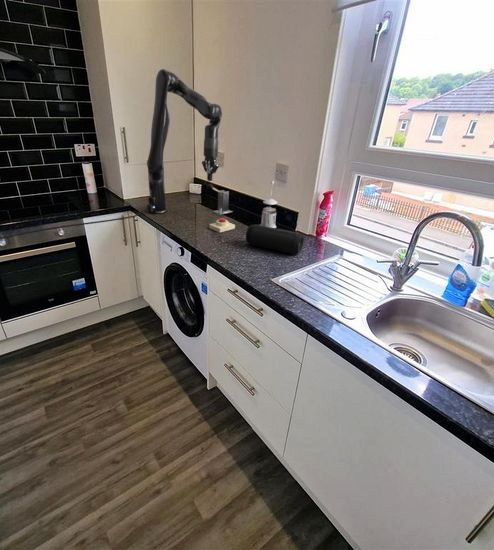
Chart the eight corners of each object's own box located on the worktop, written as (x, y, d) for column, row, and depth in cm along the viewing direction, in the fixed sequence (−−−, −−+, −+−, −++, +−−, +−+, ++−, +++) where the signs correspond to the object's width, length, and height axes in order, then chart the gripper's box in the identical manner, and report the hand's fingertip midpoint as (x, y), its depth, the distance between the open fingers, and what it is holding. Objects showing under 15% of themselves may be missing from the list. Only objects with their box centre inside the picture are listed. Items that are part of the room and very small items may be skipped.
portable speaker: (302, 251, 144) (305, 231, 139) (296, 258, 136) (299, 237, 132) (252, 240, 155) (254, 221, 150) (244, 246, 147) (245, 226, 142)
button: (221, 223, 165) (222, 220, 164) (217, 221, 167) (217, 218, 166) (226, 222, 167) (227, 219, 166) (222, 220, 169) (222, 217, 168)
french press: (277, 224, 178) (282, 180, 166) (274, 230, 168) (280, 184, 156) (260, 222, 180) (264, 178, 168) (257, 228, 170) (261, 182, 158)
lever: (209, 188, 177) (211, 183, 177) (205, 187, 179) (207, 182, 179) (225, 197, 188) (227, 193, 188) (222, 196, 190) (224, 192, 190)
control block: (219, 232, 163) (219, 225, 161) (209, 228, 168) (209, 221, 167) (234, 228, 169) (235, 221, 167) (224, 224, 175) (224, 217, 173)
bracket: (221, 216, 188) (221, 193, 182) (212, 213, 193) (213, 190, 187) (232, 213, 194) (234, 191, 188) (224, 210, 199) (225, 188, 193)
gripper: (197, 145, 163) (197, 179, 171) (213, 148, 154) (211, 183, 163) (209, 145, 168) (207, 178, 176) (224, 148, 159) (222, 182, 167)
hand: (209, 180), depth 169 cm, fingers closed
